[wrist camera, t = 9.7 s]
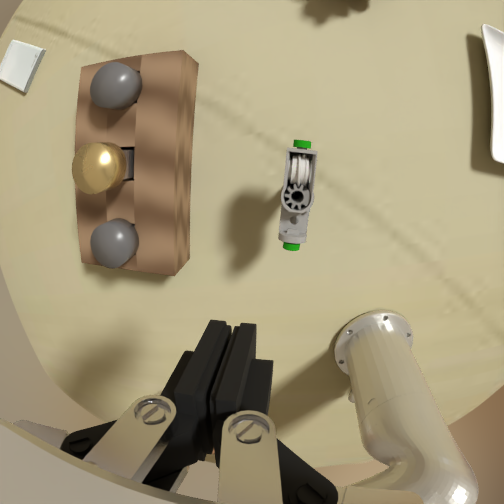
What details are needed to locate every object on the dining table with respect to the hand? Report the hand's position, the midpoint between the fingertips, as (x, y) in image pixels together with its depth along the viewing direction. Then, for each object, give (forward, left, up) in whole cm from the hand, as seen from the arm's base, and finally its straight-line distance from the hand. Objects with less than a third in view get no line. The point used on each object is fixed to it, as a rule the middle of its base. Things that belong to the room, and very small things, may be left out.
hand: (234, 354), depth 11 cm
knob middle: (+5, +18, -24) cm, 30 cm away
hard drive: (+25, +46, -29) cm, 60 cm away
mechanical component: (+3, -2, -28) cm, 29 cm away
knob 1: (+14, +18, -27) cm, 35 cm away
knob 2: (-4, +18, -27) cm, 32 cm away
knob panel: (+5, +18, -28) cm, 33 cm away
